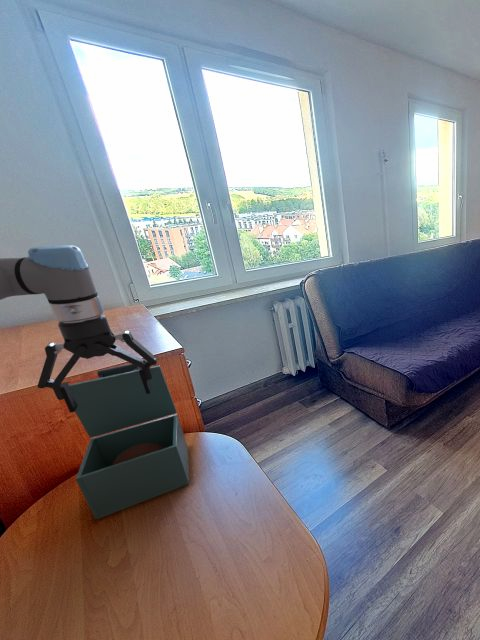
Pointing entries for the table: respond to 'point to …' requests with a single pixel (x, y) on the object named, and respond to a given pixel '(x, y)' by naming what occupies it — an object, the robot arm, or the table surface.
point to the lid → (121, 399)
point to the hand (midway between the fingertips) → (113, 399)
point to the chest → (133, 466)
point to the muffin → (137, 452)
